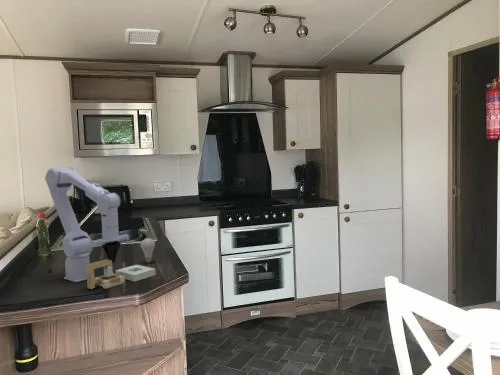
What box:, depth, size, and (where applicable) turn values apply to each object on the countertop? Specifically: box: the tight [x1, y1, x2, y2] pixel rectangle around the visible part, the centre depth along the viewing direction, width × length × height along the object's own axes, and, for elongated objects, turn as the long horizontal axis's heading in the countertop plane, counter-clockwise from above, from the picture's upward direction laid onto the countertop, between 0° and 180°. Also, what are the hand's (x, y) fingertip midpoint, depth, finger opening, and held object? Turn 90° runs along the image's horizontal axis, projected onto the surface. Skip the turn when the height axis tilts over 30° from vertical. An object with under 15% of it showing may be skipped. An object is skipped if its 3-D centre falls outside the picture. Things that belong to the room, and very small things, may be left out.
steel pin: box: [103, 264, 114, 280], centre depth 146 cm, size 3×3×7 cm
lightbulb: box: [140, 237, 156, 264], centre depth 175 cm, size 6×6×11 cm
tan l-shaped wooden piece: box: [86, 258, 113, 290], centre depth 143 cm, size 3×8×9 cm, turn 143°
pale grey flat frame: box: [114, 264, 157, 282], centre depth 156 cm, size 12×10×2 cm
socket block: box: [94, 273, 126, 289], centre depth 146 cm, size 8×8×2 cm
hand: (112, 262), depth 147 cm, fingers closed
